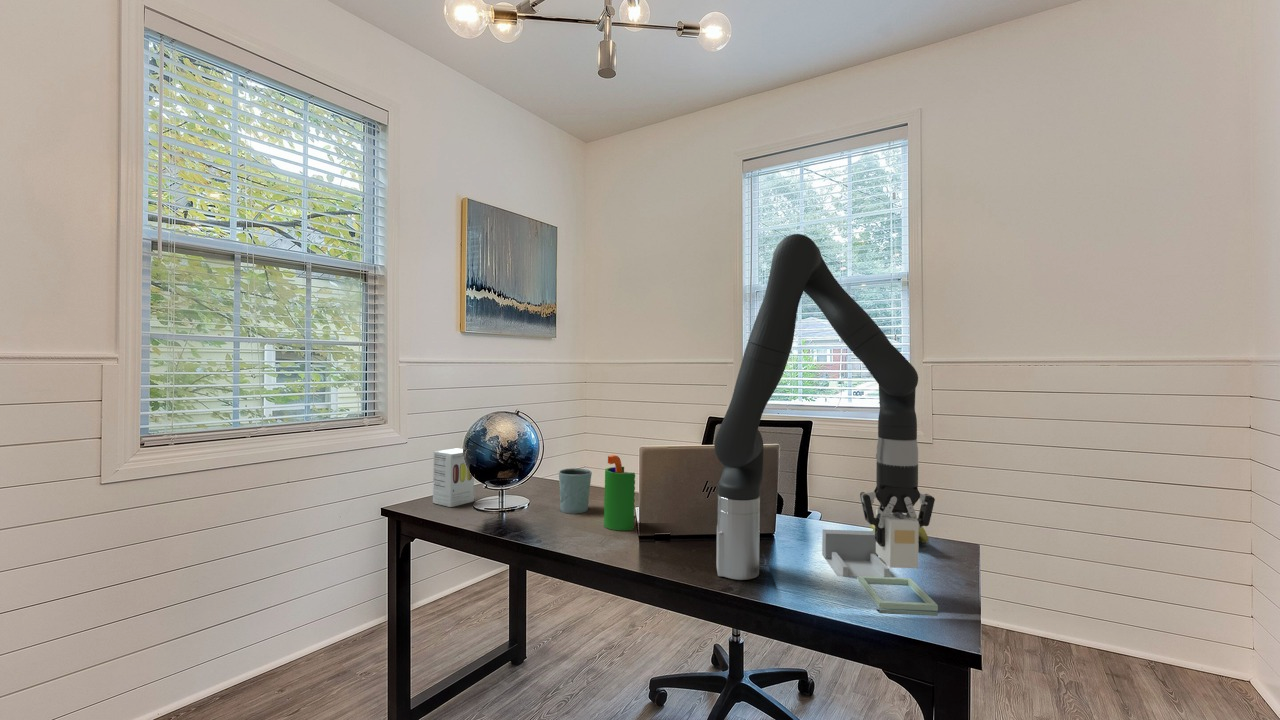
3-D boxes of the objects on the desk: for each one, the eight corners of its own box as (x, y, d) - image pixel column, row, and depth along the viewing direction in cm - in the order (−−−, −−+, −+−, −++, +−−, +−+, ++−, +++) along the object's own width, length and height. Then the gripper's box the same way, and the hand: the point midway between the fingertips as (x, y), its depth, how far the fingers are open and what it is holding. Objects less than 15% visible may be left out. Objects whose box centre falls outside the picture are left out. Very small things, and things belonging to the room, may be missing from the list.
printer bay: (837, 580, 119) (837, 548, 119) (822, 558, 132) (822, 529, 132) (894, 582, 118) (895, 550, 118) (873, 560, 131) (874, 531, 131)
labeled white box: (890, 567, 106) (891, 515, 106) (875, 552, 114) (876, 504, 114) (918, 568, 106) (919, 516, 105) (901, 553, 114) (902, 505, 114)
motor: (643, 527, 155) (643, 456, 155) (616, 533, 150) (616, 459, 150) (623, 518, 163) (624, 451, 163) (597, 523, 158) (597, 453, 158)
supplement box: (450, 508, 173) (450, 454, 173) (431, 503, 178) (432, 451, 178) (474, 501, 181) (475, 450, 181) (456, 497, 186) (456, 447, 186)
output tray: (879, 613, 104) (879, 602, 104) (858, 585, 117) (858, 576, 117) (937, 615, 103) (937, 605, 103) (910, 587, 116) (910, 578, 116)
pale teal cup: (552, 508, 173) (553, 470, 173) (580, 503, 179) (580, 466, 179) (568, 516, 165) (569, 476, 165) (597, 510, 171) (597, 472, 171)
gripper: (866, 463, 107) (865, 551, 107) (943, 465, 106) (942, 553, 106) (854, 456, 114) (853, 538, 114) (926, 458, 113) (925, 540, 113)
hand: (896, 545), depth 110 cm, fingers closed on labeled white box, 5 cm apart
